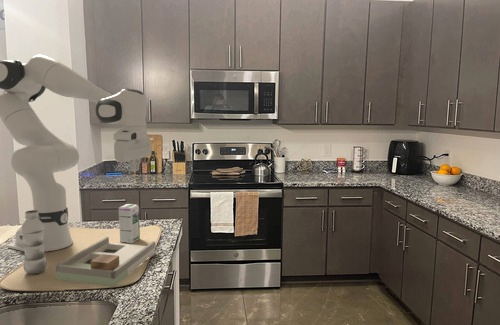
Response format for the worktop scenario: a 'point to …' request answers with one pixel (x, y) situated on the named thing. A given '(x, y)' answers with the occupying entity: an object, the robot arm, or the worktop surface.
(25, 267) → the plastic bottle
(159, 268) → the worktop surface
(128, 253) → the box
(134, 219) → the syrup box
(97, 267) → the walnut block
